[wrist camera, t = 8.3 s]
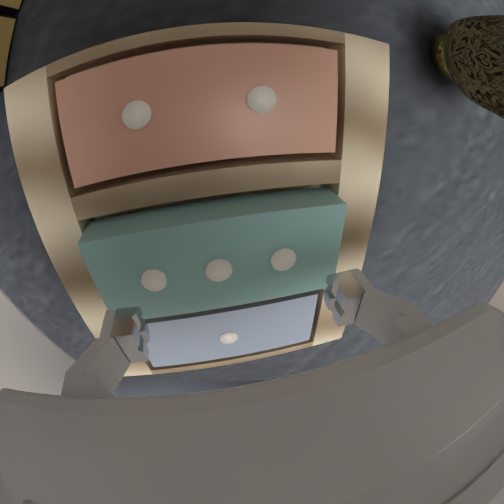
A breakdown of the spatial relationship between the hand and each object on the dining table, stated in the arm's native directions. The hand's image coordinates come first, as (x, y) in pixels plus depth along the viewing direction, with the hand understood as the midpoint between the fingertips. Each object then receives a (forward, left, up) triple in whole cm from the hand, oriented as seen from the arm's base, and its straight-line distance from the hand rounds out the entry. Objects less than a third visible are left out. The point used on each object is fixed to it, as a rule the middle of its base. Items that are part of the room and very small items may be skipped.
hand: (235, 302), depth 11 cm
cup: (-13, +17, -6) cm, 22 cm away
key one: (+6, 0, -5) cm, 8 cm away
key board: (-1, 0, -6) cm, 6 cm away
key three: (-1, 0, -4) cm, 4 cm away
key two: (-8, -1, -5) cm, 9 cm away
